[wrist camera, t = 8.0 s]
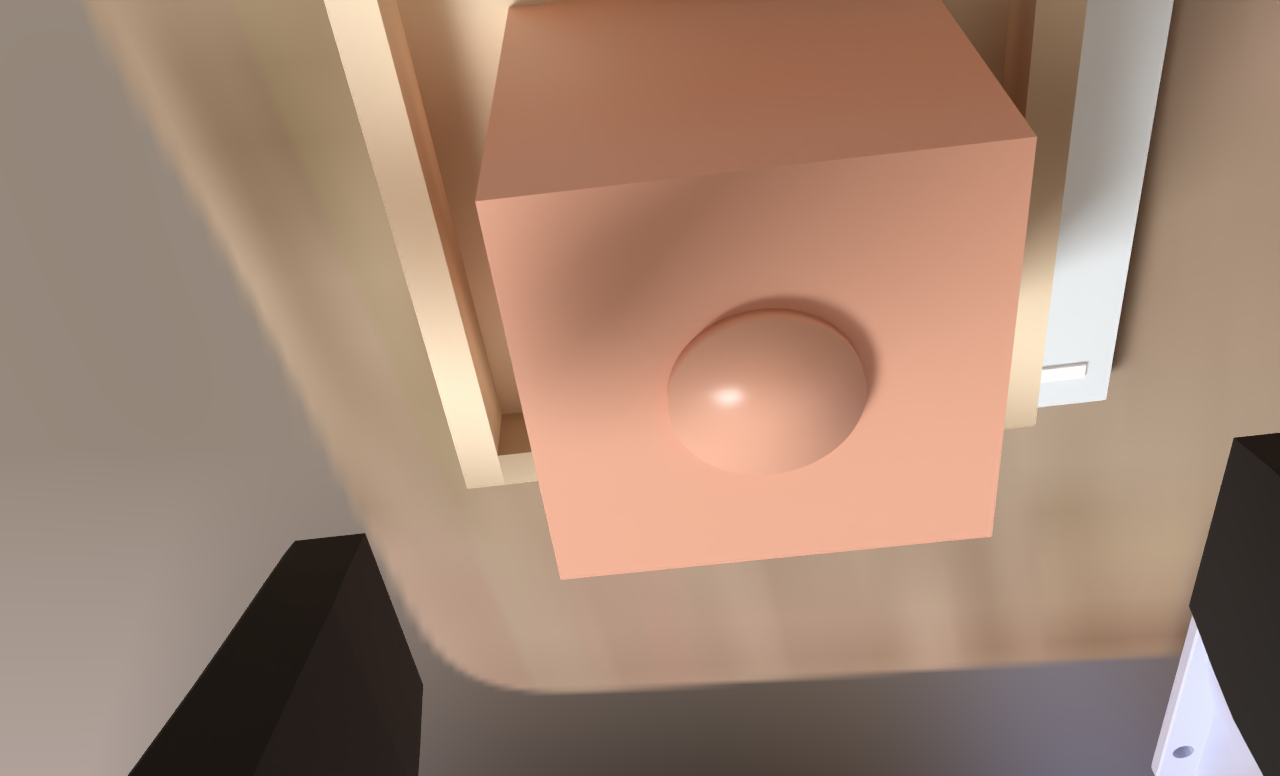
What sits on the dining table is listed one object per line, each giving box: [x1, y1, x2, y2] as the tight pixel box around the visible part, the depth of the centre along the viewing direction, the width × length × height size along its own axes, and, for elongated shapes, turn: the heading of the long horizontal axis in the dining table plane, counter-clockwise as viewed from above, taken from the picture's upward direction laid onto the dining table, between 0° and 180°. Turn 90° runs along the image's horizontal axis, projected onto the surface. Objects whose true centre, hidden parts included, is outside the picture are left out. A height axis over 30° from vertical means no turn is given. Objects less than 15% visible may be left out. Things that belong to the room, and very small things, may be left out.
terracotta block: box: [475, 0, 1037, 580], centre depth 13 cm, size 5×5×5 cm
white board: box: [1038, 0, 1174, 407], centre depth 18 cm, size 14×12×1 cm
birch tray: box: [324, 0, 1088, 489], centre depth 16 cm, size 9×9×3 cm
